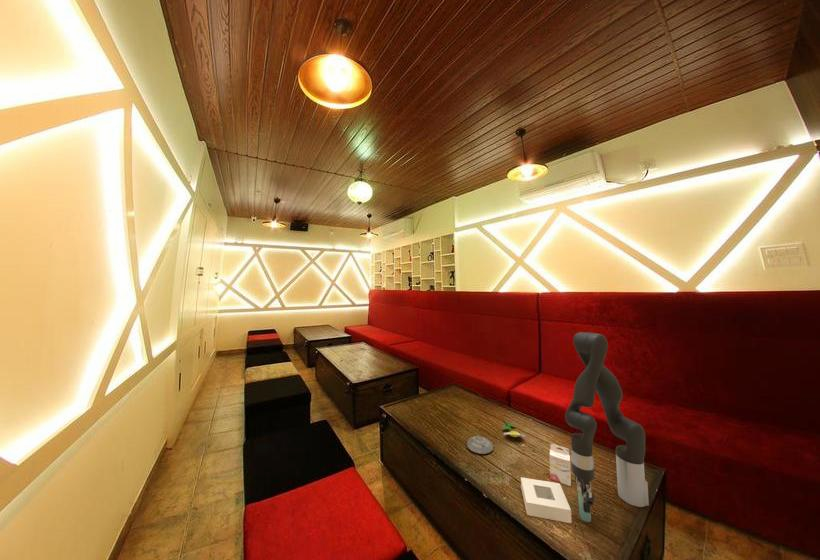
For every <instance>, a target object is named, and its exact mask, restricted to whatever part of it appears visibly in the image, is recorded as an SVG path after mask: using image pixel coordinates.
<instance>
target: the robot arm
mask: <svg viewBox="0 0 820 560" xmlns="http://www.w3.org/2000/svg"><path fill="white" fill-rule="evenodd" d="M572 343H573V346H574V348H575V351H576V353H577V354H578V356H579V358H580V360H581V361H582V363H583V364H584V365H583V366H585V369H584V370H583V371H582V372H581V373H580V375H579V376H578V377H577V379H576V381H575V384H574V388H573V389H574V390H573V396H572V398H571V399H572V400H571V401H570V404H569V405H568V407H567V409H566V411H565V414H564V418H565V419H564V420H565V422H566V424H567V425H568V426H570V427H571V428H573V429H576V430H578V431H580V432H582V433H580V432H574V433H572V434H571V435H570V437H571V438H570V440H571V441H570V443H571V445H570V446H571V449H570V450H571V451H570V464H571V473H572V474H573V475H574V482H575V487H576V490H577V491H578V486H577V484H579V486H580V493H581V494H582V497H583V510H584V512H586V513H591V514H592V512H591V511H592V510H590V506H591V507H593V506H594V500H595V493H594V492H593V491H592V485H591V482H592V481H594V479H595V460H594V455H593V454H594V451H593V442H594V437H595V434H596V431H597V427H598V425H597V424H598V423H597V421H596V419H595V417H594V416H593V415H591V414H588V413H586V412H584V411H581V409H582V408H583V407H584V408H593V407H594V405H595V404H594V403H595V398H596V394H597V395H598V398H599V401H600V403H601V406H602V408H603V411H604V414H605V417H606V420H607V424H608V427H609V429H610V431H611V433H612V434H613V435H614V436H615V437H617V438H618V439H621V440H622V441H624V442H625V443H626V444H619V445H617V446H616V447H615V460H616V461H615V463H616V465H615V467H616V483H617V495H618V496H619V498H620V499H622V500H623V501H624V502H626V503H627V504H629V505H631V506H634V507H639V508H643V507H649V505H650V504H649V503H650V501H649V485H648V481H647V480H646V478H645V477H646V476H645V460H644V459H645V456H646V431H645V428H644V427H643V426H642V425H641V424H640V423H637V422H636V421H633V420H631V419H629V418H627V417H625V416H624V414H623V413H622V411H621V409H620V404H621V402H622V400H623V395H624V394H623V393H624V392H623V390H622V387H621V384H620V383H619V382H620V381H618V379H617V377H616V376H615V374H614V373H613V372H612V371H611V370H610V369H609V368H607V367H606V366H605V365H604V363H605V360H606V356H607V353H608V347H609V344H608V339H607V338H606V336H604V334H601V333H596V332H595V333H594V332H583V331H579V332H577V333H575V334H574V336H573V342H572ZM583 491H584V492H585V493H583Z"/></svg>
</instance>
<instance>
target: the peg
mask: <svg viewBox="0 0 820 560" xmlns="http://www.w3.org/2000/svg"><path fill="white" fill-rule="evenodd" d="M577 486H578V490H577V499H578V500H577V501H578V502H577V503H578V518H580V520H582V521H583V522H585V523H591V522H592V512H591V513H586V512H584V510H583V497H582V494H581V493H580V486H579V484H577ZM577 486H576V487H577ZM583 493H585V492H584V491H583ZM591 507H592V506H590V510H591ZM591 511H592V510H591Z"/></svg>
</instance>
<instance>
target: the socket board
mask: <svg viewBox="0 0 820 560" xmlns="http://www.w3.org/2000/svg"><path fill="white" fill-rule="evenodd" d="M520 489H521V494H522V498H523V504H524V508H525V513H526V515H527V516H531V517H536V518H540V519H547V520H551V521H557V522H560V523H561V522H563V523H568V524H572V510H571V509H572V508H571V507H570V504H569V502H568V500H567V498H566V494H565V492H564V491H563V487H562V486H561V484H560V482H555V481H546V480H541V479H540V480H539V479H533V478H527V477H522V476H521V477H520Z"/></svg>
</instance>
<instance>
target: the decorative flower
mask: <svg viewBox="0 0 820 560" xmlns="http://www.w3.org/2000/svg"><path fill="white" fill-rule="evenodd" d="M503 421H504V422H505V424H506V426H505V425H504V426H502V429H504V430H508V429H509V430H510V431H508V432H503V435H505V436H506V435H509V436H511V437H513V438H517V437H521V438H522V439H523V437H525V438H526V437H527V436H526V435H525V434H523V433H522V434H521V433H519V432H518V431H516V430H515V431H514V430H512V427H514V428H515V427H517V426H516V425H515V424H512V423H508V422H507V421H506V419H505V418H503Z"/></svg>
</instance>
